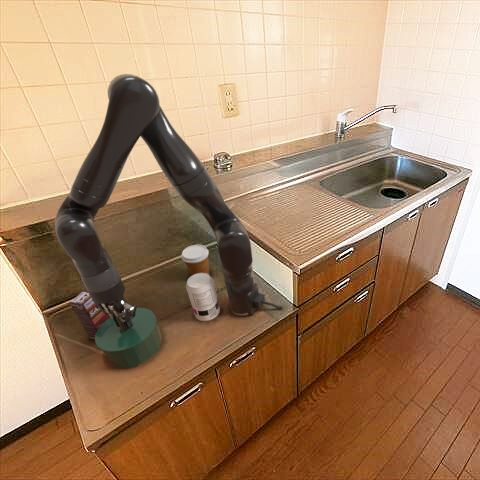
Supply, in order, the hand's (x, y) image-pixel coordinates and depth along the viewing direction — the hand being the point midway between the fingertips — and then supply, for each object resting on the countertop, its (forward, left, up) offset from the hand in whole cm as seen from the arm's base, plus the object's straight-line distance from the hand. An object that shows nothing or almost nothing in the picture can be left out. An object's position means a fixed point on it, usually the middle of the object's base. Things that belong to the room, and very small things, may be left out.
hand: (125, 326), depth 91 cm
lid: (0, 0, -1) cm, 1 cm away
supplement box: (+14, -2, -10) cm, 17 cm away
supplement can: (-12, -19, -10) cm, 25 cm away
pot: (0, 0, -10) cm, 10 cm away
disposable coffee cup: (+2, -34, -10) cm, 35 cm away
